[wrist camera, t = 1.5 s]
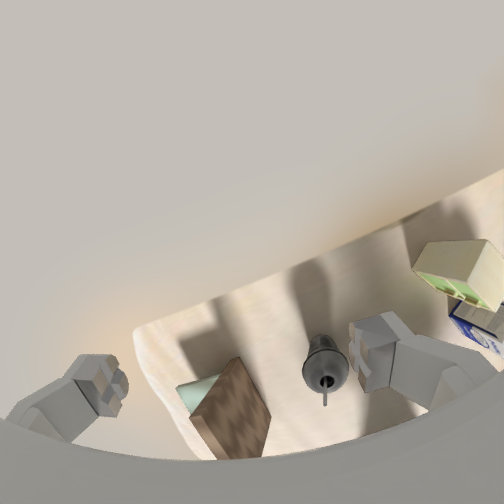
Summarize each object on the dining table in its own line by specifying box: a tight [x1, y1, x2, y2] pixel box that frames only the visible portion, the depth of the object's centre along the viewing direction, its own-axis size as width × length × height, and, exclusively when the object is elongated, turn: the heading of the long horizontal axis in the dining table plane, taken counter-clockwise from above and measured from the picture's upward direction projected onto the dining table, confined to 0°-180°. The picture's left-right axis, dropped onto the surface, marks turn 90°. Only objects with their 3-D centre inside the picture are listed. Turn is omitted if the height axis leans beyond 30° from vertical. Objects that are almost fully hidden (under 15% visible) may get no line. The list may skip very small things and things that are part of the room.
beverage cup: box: [302, 335, 349, 406], centre depth 40 cm, size 7×7×20 cm
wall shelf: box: [176, 357, 271, 460], centre depth 42 cm, size 16×12×22 cm
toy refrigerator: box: [412, 239, 504, 312], centre depth 35 cm, size 8×7×21 cm
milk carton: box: [449, 300, 504, 359], centre depth 34 cm, size 7×7×20 cm
